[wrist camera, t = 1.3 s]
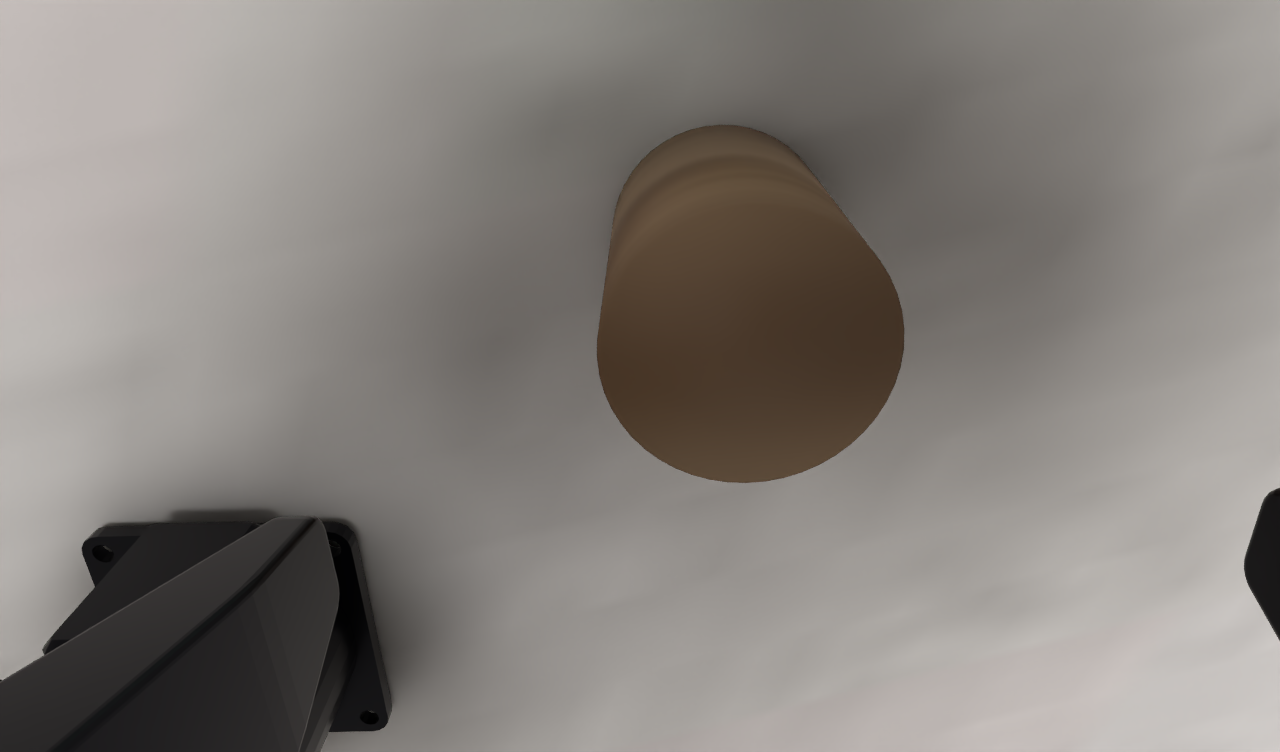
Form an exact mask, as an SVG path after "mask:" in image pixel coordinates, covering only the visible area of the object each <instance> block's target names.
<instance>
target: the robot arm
mask: <svg viewBox="0 0 1280 752" xmlns="http://www.w3.org/2000/svg"><path fill="white" fill-rule="evenodd" d="M328 540H331V541H335V542H336V543H338V544H339V546H340V547H339V548H337V547H332V546H331V545H329V542H328ZM104 546H106V547H108V548H110V549H111V550H112V552H111V551H109V550H107V549H105V548H104ZM82 553H83V557H84V559H85V562H86V564H87V567H88V570H89V572H90V575H91V577H92V580H93V583H94V585H95V588H94V589H93V590H92V591H91V593H90V594H89V595H88V596H87V597H86V598H85V599H84V600H83V602H82V603H81V604H80V605H79V606H78V607H77V608H76V610H75V611H74V612H73V613H72V614H71V615H70V616H69V617H68V619H67V620H66V621H65V622H64V623H63V624H62V625H61V626H60V628H59V629H58V630H57V631H56V632H55V633H54V634H53V635H52V637H51V638H50V639H49V640H48V641H47V643H46V644H45V645H44V647H43V649H42V650H43V653H44V656H42V657H41V658H39V659H37V660H36V661H34V662H32V663H31V664H29V665H27V666H26V667H24V668H22V669H21V670H19V671H17V672H16V673H14V674H12V675H10V676H9V677H7V678H5V679H4V680H0V752H320V751H321V748H322V746H323V744H324V741H325V739H326V736H327V734H328V732H351V731H376V730H380V729H382V728H384V727H385V726H386V724H387V723H388V720H389V717H390V714H391V711H392V703H391V699H390V694H389V689H388V685H387V680H386V675H385V670H384V666H383V661H382V656H381V652H380V647H379V642H378V638H377V633H376V628H375V623H374V619H373V614H372V609H371V605H370V600H369V595H368V591H367V586H366V581H365V577H364V572H363V567H362V562H361V558H360V553H359V548H358V544H357V539H356V537H355V534H354V532H353V531H352V530H351V529H350V528H349V527H348V526H346V525H343V524H341V523H337V522H322V521H321V520H320V519H318V518H317V517H315V516H286V517H276V518H273V519H271V520H270V521H268V522H266V523H257V524H256V523H253V522H211V523H166V524H152V525H150V526H120V527H103V528H99V529H97V530H96V531H95V532H93V533H92V534H91V535H90V537H89V538H88V539H87V540H86V541H85V542H84V543H83V546H82ZM1244 571H1245V577H1246V580H1247V583H1248V585H1249V587H1250V589H1251V591H1252V593H1253V595H1254V596H1255V598H1256V600H1257V602H1258V603H1259V605H1260V607H1261V609H1262V610H1263V612H1264V614H1265V616H1266V617H1267V619H1268V621H1269V623H1270V624H1271V626H1272V628H1273V630H1274V632H1275V633H1276V635H1277V637H1278V639H1279V640H1280V488H1277V489H1275V490H1273V491H1271V492H1270V493H1269V494H1268V495H1267V496H1266V497H1265V498H1264V501H1263V503H1262V506H1261V509H1260V512H1259V515H1258V518H1257V521H1256V524H1255V527H1254V530H1253V533H1252V537H1251V540H1250V543H1249V546H1248V549H1247V552H1246V555H1245V560H1244ZM369 711H373V712H375V713H373V712H369Z"/></svg>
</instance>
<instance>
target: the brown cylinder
mask: <svg viewBox="0 0 1280 752" xmlns="http://www.w3.org/2000/svg"><path fill="white" fill-rule="evenodd" d="M903 350H904V324H903V314H902V309H901V305H900V302H899V298H898V294H897V292H896V289H895V287H894V285H893V282H892V280H891V278H890V276H889V274H888V273H887V271H886V269H885V268H884V266H883V265H882V263H881V261H880V260H879V259H878V257H877V256H876V255H875V253H874V252H873V251H872V250H871V248H870V247H869V246H868V244H867V243H866V242H865V240H864V239H863V238H862V237H861V235H860V234H859V233H858V231H857V230H856V229H855V228H854V226H853V225H852V224H851V222H850V221H849V220H848V219H847V217H846V216H845V215H844V213H843V212H842V211H841V209H840V208H839V207H838V206H837V204H836V203H835V202H834V200H833V199H832V198H831V197H830V195H829V194H828V193H827V191H826V190H825V189H824V188H823V186H822V185H821V184H820V182H819V181H818V180H817V178H816V177H815V176H814V175H813V173H812V172H811V171H810V169H809V168H808V167H807V166H806V164H805V163H804V162H803V161H802V160H801V159H800V157H799V156H798V155H797V154H796V153H794V152H793V151H792V150H791V149H790V148H789V147H788V146H786V145H785V144H783V143H782V142H780V141H779V140H777V139H776V138H774V137H772V136H769V135H767V134H765V133H763V132H760V131H757V130H754V129H751V128H746V127H741V126H735V125H714V126H705V127H700V128H696V129H692V130H689V131H686V132H684V133H681V134H678V135H676V136H674V137H672V138H670V139H669V140H667V141H665V142H663V143H662V144H660V145H659V146H658V147H656V148H655V149H654V150H652V151H651V152H650V153H649V154H648V155H647V156H646V157H645V158H644V159H643V160H642V161H641V162H640V163H639V164H638V165H637V167H636V168H635V169H634V170H633V172H632V173H631V175H630V176H629V178H628V180H627V181H626V183H625V185H624V187H623V189H622V191H621V193H620V196H619V198H618V202H617V205H616V209H615V214H614V220H613V227H612V234H611V242H610V249H609V256H608V264H607V271H606V278H605V286H604V293H603V300H602V308H601V315H600V322H599V330H598V337H597V361H598V368H599V375H600V379H601V382H602V386H603V390H604V393H605V395H606V397H607V400H608V402H609V404H610V406H611V409H612V410H613V412H614V413H615V415H616V417H617V418H618V420H619V422H620V423H621V424H622V426H623V427H624V428H625V429H626V431H627V432H628V433H629V434H630V435H631V437H632V438H633V439H635V440H636V441H637V442H638V443H639V444H640V445H641V446H642V447H643V448H644V449H645V450H647V451H648V452H650V453H651V454H652V455H654V456H655V457H657V458H658V459H659V460H661V461H663V462H665V463H667V464H669V465H670V466H672V467H674V468H676V469H679V470H681V471H684V472H686V473H689V474H691V475H695V476H698V477H702V478H706V479H710V480H717V481H724V482H739V483H750V482H763V481H769V480H775V479H780V478H785V477H788V476H791V475H794V474H798V473H801V472H803V471H806V470H808V469H810V468H813V467H815V466H817V465H819V464H821V463H823V462H825V461H826V460H828V459H830V458H832V457H833V456H835V455H837V454H838V453H839V452H841V451H842V450H843V449H845V448H846V447H848V446H849V445H850V444H851V443H852V442H854V441H855V440H856V439H857V438H858V437H859V436H860V435H861V434H862V433H863V432H864V431H865V430H866V429H867V428H868V426H869V425H870V424H871V423H872V422H873V421H874V419H875V418H876V417H877V415H878V414H879V412H880V411H881V409H882V408H883V406H884V405H885V403H886V402H887V400H888V397H889V395H890V393H891V391H892V389H893V387H894V385H895V382H896V379H897V376H898V373H899V370H900V366H901V361H902V355H903Z"/></svg>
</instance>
